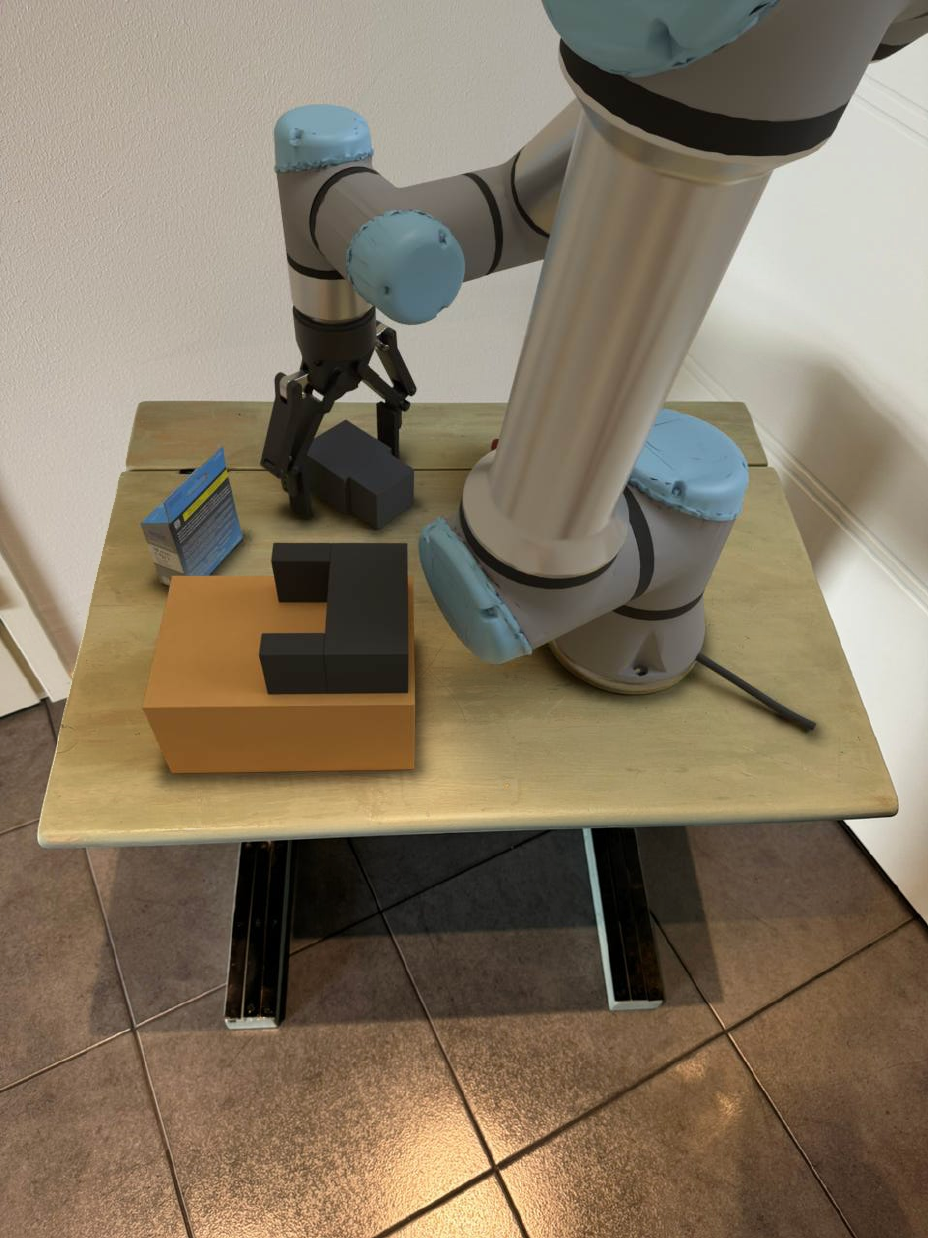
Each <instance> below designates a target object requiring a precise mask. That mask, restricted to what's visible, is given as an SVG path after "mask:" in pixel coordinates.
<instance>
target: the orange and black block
mask: <svg viewBox="0 0 928 1238" xmlns="http://www.w3.org/2000/svg"><path fill="white" fill-rule="evenodd" d="M408 551H409V550H408V542H273V544H272V551H271V558H270V559H271V560H270V564H271V568H272V573H273V575H209V576H172V579H171V583H170V586H169V587H168V593H167V597H166V601H165V605H164V610H163V614H162V619H161V623H160V627H159V630H158V631H159V632H158V636H157V639H156V644H155V648H154V653H153V658H152V661H151V666H150V671H149V675H148V679H147V684H146V688H145V693H144V697H143V703H142V706H141V708H142V711H143V713H144V715H145V717H146V720H147V722H148V724H149V727H150V729H151V731H152V733H153V735H154V737H155V739H156V742H157V745H158V746H159V749H160V751H161V753H162V755H163V758H164V760H165V762H166V764H167V767H168V769H169V771H170V773H171V774H206V773H207V774H209V773H210V774H212V773H216V774H217V773H219V774H220V773H271V772H277V773H278V772H329V771H331V772H333V771H339V772H340V771H390V770H392V771H394V770H396V771H397V770H414V769H415V732H416V731H415V730H416V726H415V725H416V722H415V721H416V683H415V681H416V680H415V679H416V677H415V676H416V675H415V674H416V673H415V672H416V671H415V609H414V608H415V607H414V606H415V605H414V604H415V603H414V598H415V597H414V576H413V575H409V567H408V565H409V564H408V563H409V557H408V554H409V553H408Z"/></svg>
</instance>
